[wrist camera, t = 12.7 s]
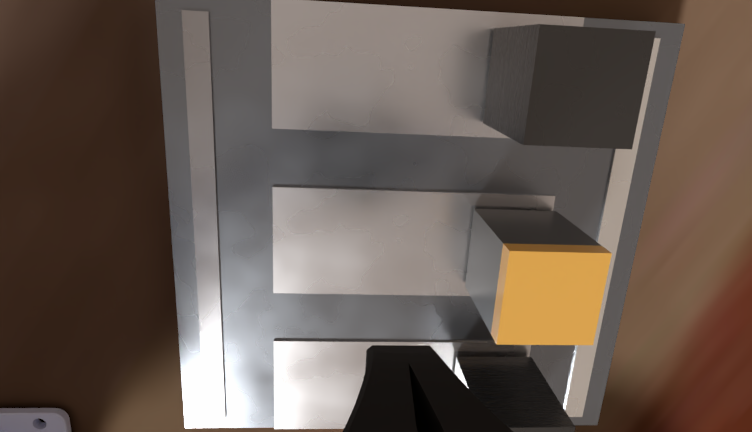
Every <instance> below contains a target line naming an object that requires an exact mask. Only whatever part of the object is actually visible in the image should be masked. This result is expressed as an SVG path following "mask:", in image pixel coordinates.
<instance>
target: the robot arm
mask: <svg viewBox="0 0 752 432" xmlns="http://www.w3.org/2000/svg"><path fill="white" fill-rule="evenodd" d="M38 418H39V419H43V420H44V421H45V422H46V423H44V422H41V421H40V420H39V419H38ZM0 432H71V425H70V418H69V416H68V414H67V413H66V412H65V411H64V410H62V409H59V408H0ZM343 432H513V431H512V430H511V429H510V428H509V427H507V426H506V425H505V424H504V423H503V422H502V421H501V420H500V419H499V418H497V417H496V416H495V415H494V414H493V413H492V412H491V411H490V410H489V409H488V408H487V407H486V406H485V405H484V404H483V403H482V402H481V401H480V400H479V399H478V398H477V397H476V396H475V395H474V394H473V393H472V392H471V391H470V390H469V389H468V388H467V387H466V386H465V385H464V383H463V382H462V381H461V380H460V379H459V378H458V377H457V376H456V375H455V373H454V372H453V371H452V370H451V369H450V368H449V367H448V366H447V364H446V363H445V362H444V361H443V360H442V359H441V358H440V357H439V355H438V354H437V353H436V352H435V351H434V350H433V349H432V348H431V347H430V346H409V345H372V346H371V347H370V348H368V349H367V350H366V367H365V375H364V379H363V382H362V385H361V388H360V391H359V394H358V397H357V400H356V403H355V405H354V408H353V410H352V413H351V415H350V417H349V419H348V421H347V424H346V426H345V428H344V430H343Z"/></svg>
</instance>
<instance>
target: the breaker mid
mask: <svg viewBox="0 0 752 432" xmlns="http://www.w3.org/2000/svg"><path fill="white" fill-rule="evenodd" d="M611 255H612V253H611V252H609V251H608V250H607V249H606V248H604V247H603V246H602V245H600V244H599V243H598V242H596V241H595V240H594V239H592V238H591V237H590V236H588V235H587V234H586V233H584V232H583V231H582V230H581V229H579V228H578V227H577V226H575V225H574V224H573V223H571V222H570V221H569V220H567V219H566V218H565V217H563V216H562V215H561V214H559V213H558V212H557V211H536V210H501V209H474V213H473V222H472V231H471V240H470V248H469V257H468V266H467V274H466V283H465V287H466V289H467V291H468V292H469V294H470V296H471V298H472V300H473V302H474V304H475V305H476V307H477V309H478V311H479V313H480V315H481V317H482V319H483V320H484V322H485V324H486V326H487V328H488V330H489V332H490V334H491V335H492V337H493V339H494V341H495V343H496V345H593V343H594V338H595V334H596V329H597V324H598V319H599V314H600V309H601V304H602V299H603V294H604V289H605V285H606V280H607V275H608V270H609V265H610V260H611Z"/></svg>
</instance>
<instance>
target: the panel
mask: <svg viewBox="0 0 752 432" xmlns="http://www.w3.org/2000/svg"><path fill="white" fill-rule="evenodd" d="M155 8H156V22H157V37H158V51H159V65H160V79H161V93H162V108H163V122H164V136H165V150H166V165H167V179H168V193H169V207H170V221H171V236H172V250H173V264H174V278H175V293H176V307H177V321H178V335H179V349H180V364H181V378H182V392H183V406H184V421H185V428H263V427H274V429H344V428H345V426H346V424H347V421H348V419H349V417H350V415H351V413H352V410H353V408H354V405H355V403H356V400H357V397H358V394H359V391H360V388H361V385H362V382H363V379H364V375H365V367H366V350H367V349H368V348H370V347H371V346H372V345H409V346H430V347H431V348H432V349H433V350H434V351H435V352H436V353H437V354H438V355H439V357H440V358H441V359H442V360H443V361H444V362H445V363H446V364H447V366H448V367H449V368H450V369H451V370H452V371H453V372H454V373H455V375H456V376H457V377H458V378H459V379H460V380H461V381H462V382H463V383H464V385H465V386H466V387H467V388H468V389H469V390H470V391H471V392H472V393H473V394H474V395H475V396H476V397H477V398H478V399H479V400H480V401H481V402H482V403H483V404H484V405H485V406H486V407H487V408H488V409H489V410H490V411H491V412H492V413H493V414H494V415H495V416H496V417H497V418H499V419H500V420H501V421H502V422H503V423H504V424H505V425H506V426H507V427H509V428H510V429H511V430H512V431H513V432H575V426H574V425H598V420H599V416H600V411H601V406H602V402H603V397H604V393H605V388H606V384H607V379H608V374H609V370H610V365H611V361H612V356H613V352H614V347H615V342H616V338H617V333H618V329H619V324H620V320H621V315H622V310H623V306H624V301H625V297H626V292H627V287H628V283H629V278H630V274H631V269H632V265H633V260H634V255H635V251H636V246H637V242H638V237H639V233H640V228H641V223H642V219H643V214H644V210H645V205H646V200H647V196H648V191H649V187H650V182H651V178H652V173H653V168H654V164H655V159H656V155H657V150H658V146H659V141H660V136H661V132H662V127H663V123H664V118H665V114H666V109H667V104H668V100H669V95H670V91H671V86H672V81H673V77H674V72H675V68H676V63H677V59H678V54H679V49H680V45H681V40H682V36H683V31H684V27H685V24H679V23H663V22H647V21H630V20H614V19H598V18H585V17H569V16H553V15H537V14H521V13H505V12H489V11H473V10H457V9H440V8H424V7H408V6H392V5H376V4H360V3H344V2H328V1H311V0H155ZM474 209H501V210H536V211H557V212H558V213H559V214H561V215H562V216H563V217H565V218H566V219H567V220H569V221H570V222H571V223H573V224H574V225H575V226H577V227H578V228H579V229H581V230H582V231H583V232H584V233H586V234H587V235H588V236H590V237H591V238H592V239H594V240H595V241H596V242H598V243H599V244H600V245H602V246H603V247H604V248H606V249H607V250H608V251H609V252H611V253H612V255H611V260H610V265H609V270H608V275H607V280H606V285H605V289H604V294H603V299H602V304H601V309H600V314H599V319H598V324H597V329H596V334H595V338H594V343H593V345H496V343H495V341H494V339H493V337H492V335H491V334H490V332H489V330H488V328H487V326H486V324H485V322H484V320H483V319H482V317H481V315H480V313H479V311H478V309H477V307H476V305H475V304H474V302H473V300H472V298H471V296H470V294H469V292H468V291H467V289H466V287H465V283H466V274H467V266H468V257H469V248H470V240H471V231H472V222H473V213H474Z"/></svg>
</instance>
